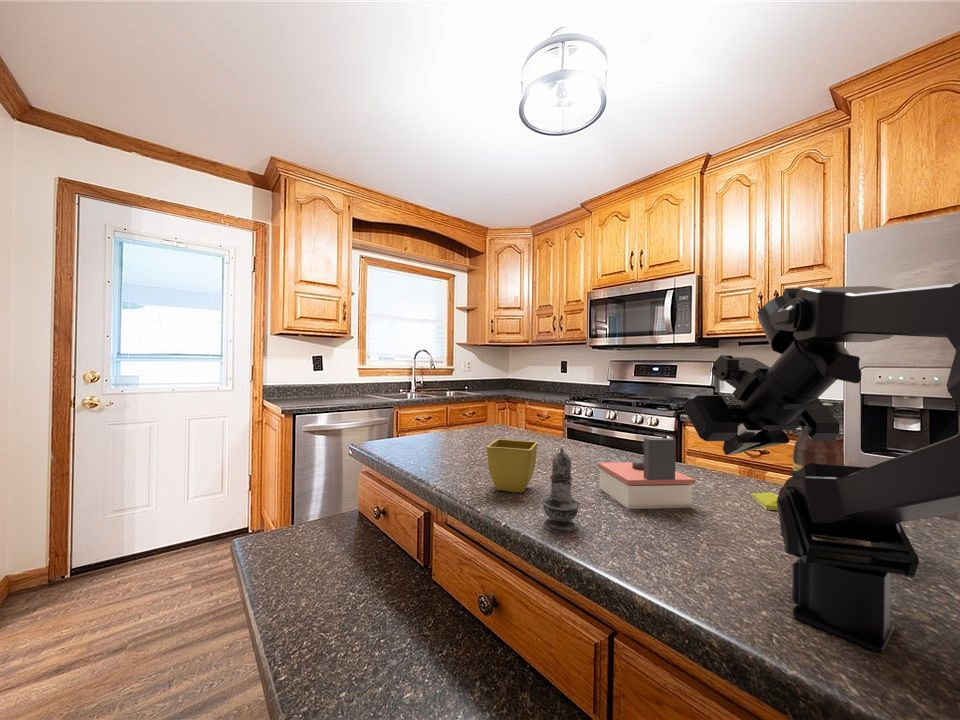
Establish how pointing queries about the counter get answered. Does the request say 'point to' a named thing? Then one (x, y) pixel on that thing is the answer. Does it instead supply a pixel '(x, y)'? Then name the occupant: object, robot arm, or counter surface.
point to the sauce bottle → (816, 449)
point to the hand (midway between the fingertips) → (726, 452)
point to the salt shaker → (561, 497)
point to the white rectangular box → (646, 493)
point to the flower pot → (511, 463)
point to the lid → (650, 465)
